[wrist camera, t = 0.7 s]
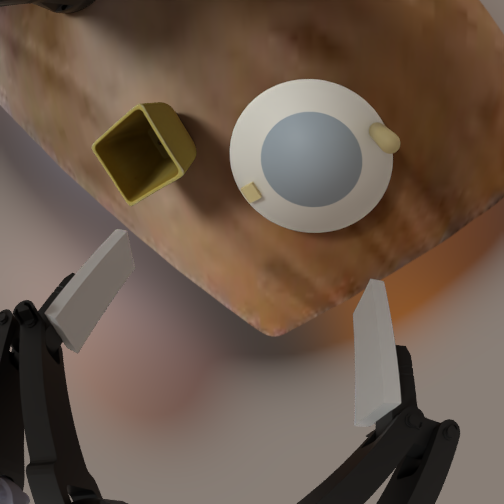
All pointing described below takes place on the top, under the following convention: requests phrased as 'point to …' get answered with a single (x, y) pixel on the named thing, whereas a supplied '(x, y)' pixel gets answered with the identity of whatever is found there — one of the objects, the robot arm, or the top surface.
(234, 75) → the top surface
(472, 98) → the top surface
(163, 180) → the flower pot
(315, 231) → the disc
